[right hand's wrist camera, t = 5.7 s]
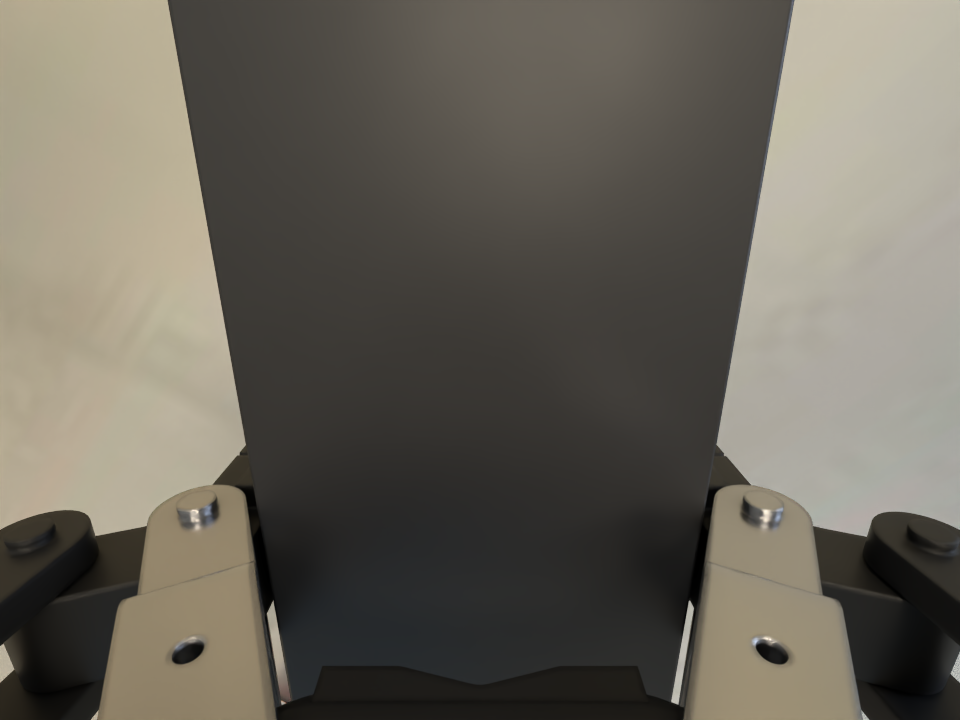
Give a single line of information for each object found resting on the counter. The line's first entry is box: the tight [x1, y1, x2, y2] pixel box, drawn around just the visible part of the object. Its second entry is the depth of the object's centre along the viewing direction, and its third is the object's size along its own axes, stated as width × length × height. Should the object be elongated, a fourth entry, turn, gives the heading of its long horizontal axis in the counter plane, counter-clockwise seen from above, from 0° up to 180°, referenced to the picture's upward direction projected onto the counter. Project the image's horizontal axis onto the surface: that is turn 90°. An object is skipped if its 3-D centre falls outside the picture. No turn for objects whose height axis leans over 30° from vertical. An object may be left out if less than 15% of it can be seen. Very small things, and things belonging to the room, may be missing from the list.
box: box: [168, 0, 794, 702], centre depth 11 cm, size 21×6×12 cm, turn 0°
